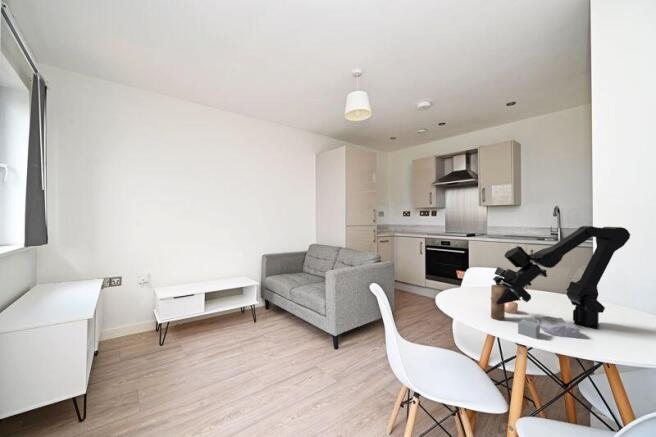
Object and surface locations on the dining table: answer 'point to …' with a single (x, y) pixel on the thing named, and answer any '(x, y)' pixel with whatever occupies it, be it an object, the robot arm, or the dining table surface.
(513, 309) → the peach rounded knob part
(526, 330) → the grey faceted polyhedron
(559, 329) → the stone block
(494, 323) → the dining table surface
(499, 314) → the walnut post
